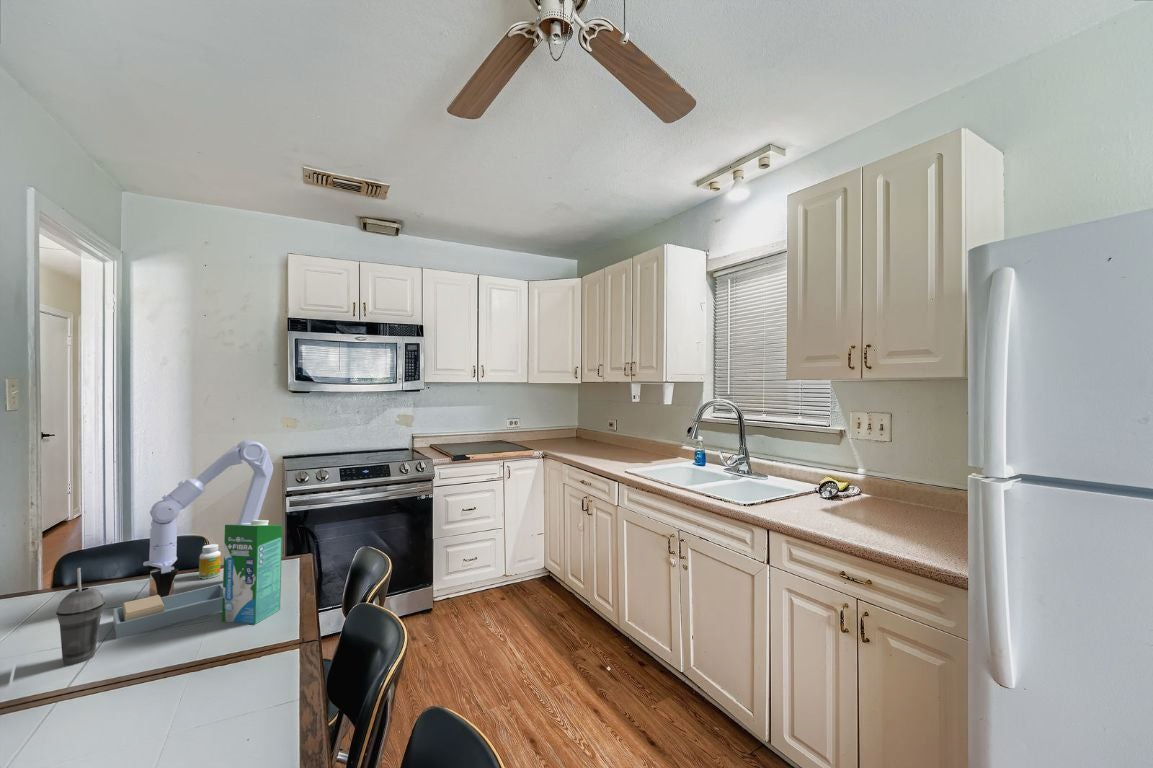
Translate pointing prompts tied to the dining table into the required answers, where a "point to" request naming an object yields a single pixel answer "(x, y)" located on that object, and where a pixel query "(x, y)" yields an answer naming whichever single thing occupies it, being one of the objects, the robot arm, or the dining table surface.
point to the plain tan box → (142, 608)
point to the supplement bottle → (209, 562)
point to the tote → (173, 611)
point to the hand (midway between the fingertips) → (161, 592)
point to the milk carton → (251, 571)
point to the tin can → (153, 585)
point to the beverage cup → (79, 623)
